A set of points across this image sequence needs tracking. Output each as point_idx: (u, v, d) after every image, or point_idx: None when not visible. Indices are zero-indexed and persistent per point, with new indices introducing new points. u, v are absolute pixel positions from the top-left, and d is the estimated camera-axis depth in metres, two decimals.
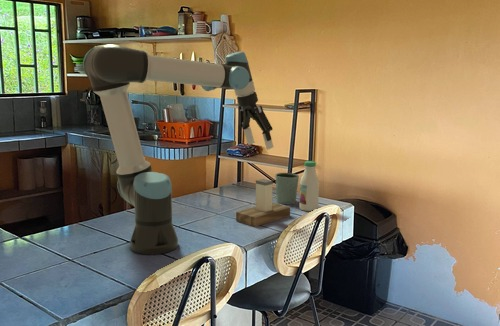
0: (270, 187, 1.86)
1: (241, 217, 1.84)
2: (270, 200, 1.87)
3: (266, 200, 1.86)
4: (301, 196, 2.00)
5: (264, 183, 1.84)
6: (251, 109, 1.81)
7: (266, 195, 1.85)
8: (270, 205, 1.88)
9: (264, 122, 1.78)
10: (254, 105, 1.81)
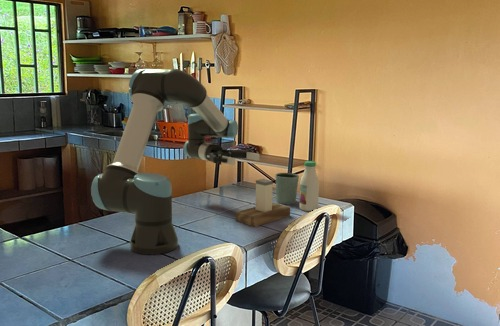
0: (270, 187, 1.86)
1: (241, 217, 1.84)
2: (270, 200, 1.87)
3: (266, 200, 1.86)
4: (301, 196, 2.00)
5: (264, 183, 1.84)
6: None
7: (266, 195, 1.85)
8: (270, 205, 1.88)
9: None
10: None
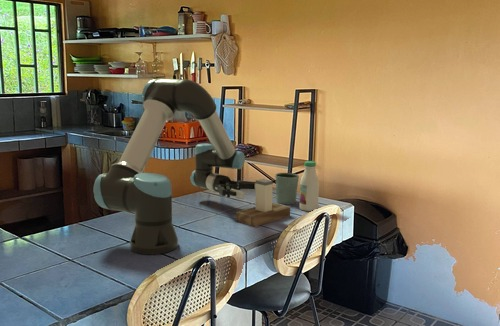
0: (270, 187, 1.86)
1: (241, 217, 1.84)
2: (270, 200, 1.87)
3: (266, 200, 1.86)
4: (301, 196, 2.00)
5: (264, 183, 1.84)
6: None
7: (266, 195, 1.85)
8: (270, 205, 1.88)
9: None
10: None
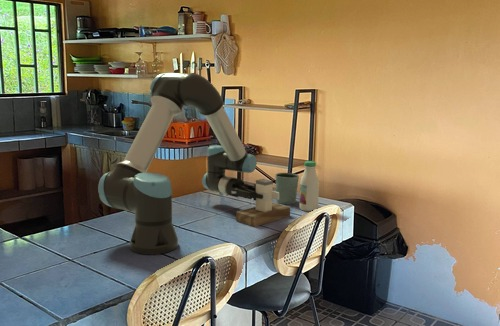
0: (270, 187, 1.86)
1: (241, 217, 1.84)
2: None
3: None
4: (301, 196, 2.00)
5: (264, 183, 1.84)
6: None
7: None
8: (270, 205, 1.88)
9: None
10: None
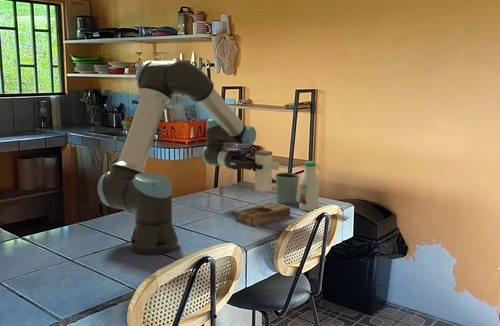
0: (270, 157, 1.84)
1: (241, 217, 1.84)
2: None
3: None
4: (301, 196, 2.00)
5: (264, 153, 1.82)
6: None
7: None
8: (270, 176, 1.85)
9: None
10: None
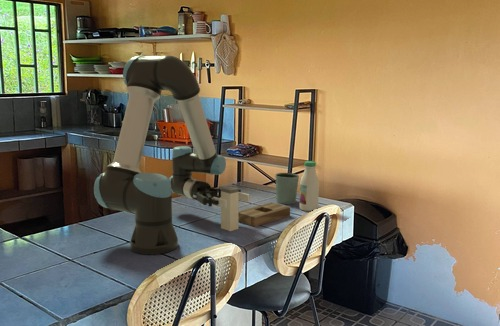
0: (236, 195, 1.74)
1: (241, 217, 1.84)
2: (236, 209, 1.75)
3: (231, 209, 1.73)
4: (301, 196, 2.00)
5: (229, 191, 1.72)
6: None
7: (231, 203, 1.73)
8: (236, 214, 1.75)
9: None
10: None
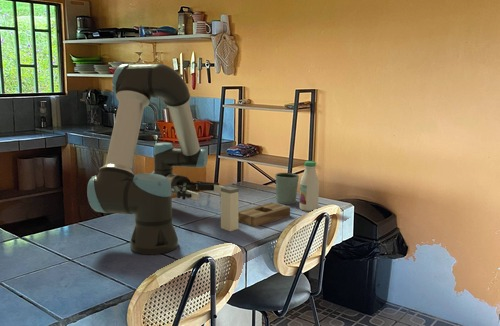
0: (236, 195, 1.74)
1: (241, 217, 1.84)
2: (236, 209, 1.75)
3: (231, 209, 1.73)
4: (301, 196, 2.00)
5: (229, 191, 1.72)
6: None
7: (231, 203, 1.73)
8: (236, 214, 1.75)
9: None
10: None
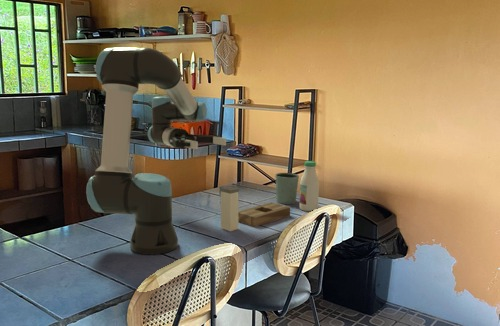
0: (236, 195, 1.74)
1: (241, 217, 1.84)
2: (236, 209, 1.75)
3: (231, 209, 1.73)
4: (301, 196, 2.00)
5: (229, 191, 1.72)
6: None
7: (231, 203, 1.73)
8: (236, 214, 1.75)
9: None
10: None
